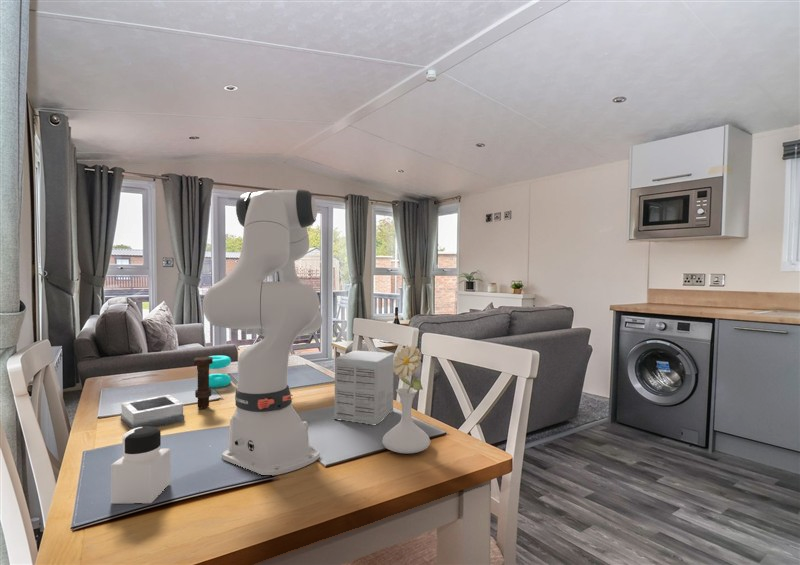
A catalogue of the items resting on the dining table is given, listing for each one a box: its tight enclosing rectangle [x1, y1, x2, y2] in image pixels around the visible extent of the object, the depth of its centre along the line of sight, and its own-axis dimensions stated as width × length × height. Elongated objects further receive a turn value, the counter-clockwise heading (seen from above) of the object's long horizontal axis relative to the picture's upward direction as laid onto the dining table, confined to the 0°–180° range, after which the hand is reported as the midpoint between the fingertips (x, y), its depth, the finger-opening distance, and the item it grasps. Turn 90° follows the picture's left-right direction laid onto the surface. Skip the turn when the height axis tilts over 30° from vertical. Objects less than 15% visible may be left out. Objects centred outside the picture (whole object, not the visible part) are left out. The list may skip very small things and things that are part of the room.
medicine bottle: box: [110, 426, 172, 505], centre depth 80 cm, size 7×7×12 cm
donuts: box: [208, 354, 232, 389], centre depth 155 cm, size 10×10×10 cm
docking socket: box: [120, 394, 185, 430], centre depth 119 cm, size 14×12×4 cm
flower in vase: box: [381, 344, 431, 455], centre depth 101 cm, size 13×11×25 cm
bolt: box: [193, 356, 213, 410], centre depth 129 cm, size 6×5×15 cm
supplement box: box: [334, 349, 395, 425], centre depth 124 cm, size 13×13×18 cm
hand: (238, 329), depth 137 cm, fingers open, 8 cm apart
